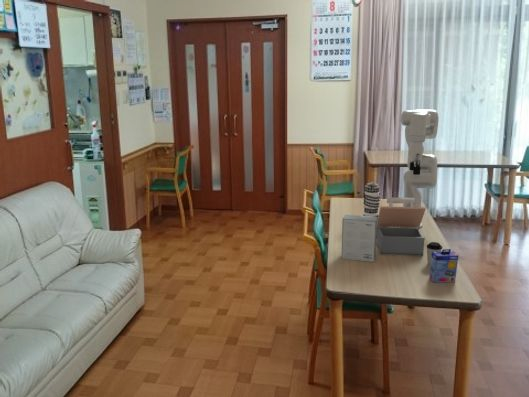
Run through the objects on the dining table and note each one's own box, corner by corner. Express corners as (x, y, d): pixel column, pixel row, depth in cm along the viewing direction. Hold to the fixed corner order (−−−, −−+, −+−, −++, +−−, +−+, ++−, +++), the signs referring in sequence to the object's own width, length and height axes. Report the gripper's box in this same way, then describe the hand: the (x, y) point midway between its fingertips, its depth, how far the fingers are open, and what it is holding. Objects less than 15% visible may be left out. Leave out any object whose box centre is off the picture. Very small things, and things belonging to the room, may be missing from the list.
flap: (376, 226, 257) (375, 213, 262) (419, 227, 255) (417, 213, 260) (380, 208, 244) (379, 194, 249) (425, 209, 242) (423, 194, 247)
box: (376, 243, 259) (377, 226, 257) (416, 244, 258) (418, 227, 255) (380, 254, 245) (381, 236, 243) (423, 255, 243) (424, 237, 241)
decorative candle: (362, 223, 292) (364, 181, 285) (379, 224, 289) (381, 182, 283) (361, 228, 283) (363, 184, 277) (378, 229, 281) (380, 185, 274)
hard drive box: (376, 256, 242) (378, 216, 237) (374, 262, 235) (376, 221, 230) (343, 253, 247) (345, 213, 242) (340, 258, 240) (342, 218, 235)
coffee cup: (438, 268, 228) (440, 247, 225) (423, 265, 231) (424, 244, 229) (442, 263, 234) (444, 243, 231) (427, 260, 237) (428, 240, 235)
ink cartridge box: (433, 283, 213) (436, 250, 209) (428, 277, 218) (431, 246, 215) (456, 282, 214) (459, 249, 210) (450, 276, 219) (453, 245, 215)
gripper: (406, 135, 259) (403, 168, 264) (412, 141, 242) (410, 176, 247) (421, 135, 258) (418, 168, 263) (428, 141, 242) (425, 176, 246)
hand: (414, 172), depth 255 cm, fingers open, 9 cm apart
